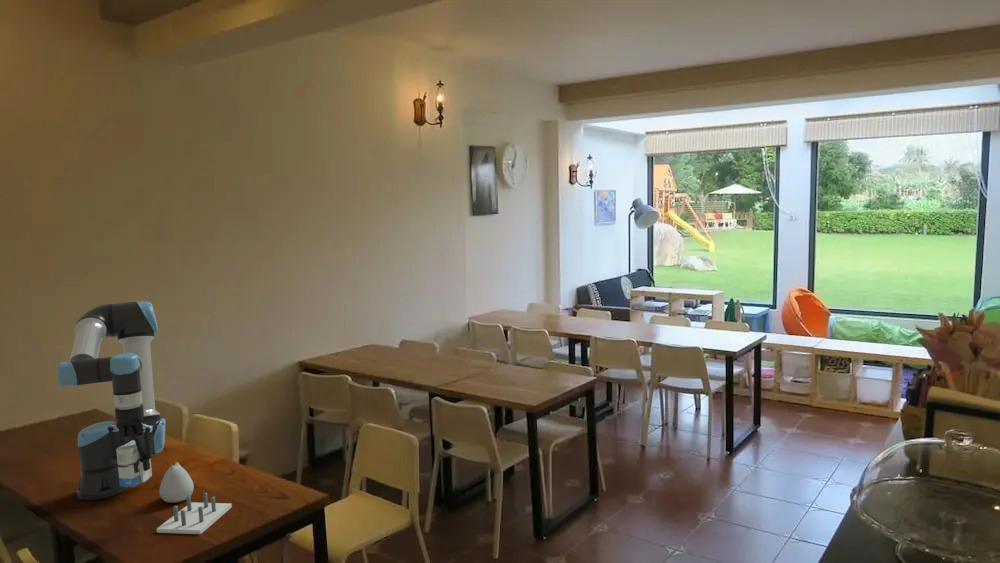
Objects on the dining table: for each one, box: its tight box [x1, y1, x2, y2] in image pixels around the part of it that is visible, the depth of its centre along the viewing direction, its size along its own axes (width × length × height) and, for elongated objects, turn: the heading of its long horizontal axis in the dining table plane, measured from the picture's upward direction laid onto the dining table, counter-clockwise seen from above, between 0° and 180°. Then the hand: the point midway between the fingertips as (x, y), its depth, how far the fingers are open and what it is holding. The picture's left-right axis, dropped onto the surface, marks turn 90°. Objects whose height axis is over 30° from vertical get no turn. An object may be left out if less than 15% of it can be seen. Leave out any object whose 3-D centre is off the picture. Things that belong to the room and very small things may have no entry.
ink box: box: [116, 440, 153, 488], centre depth 209 cm, size 8×5×12 cm, turn 169°
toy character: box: [158, 461, 195, 504], centre depth 229 cm, size 10×10×12 cm
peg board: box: [156, 492, 233, 535], centre depth 214 cm, size 14×18×6 cm
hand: (136, 480), depth 210 cm, fingers closed on ink box, 5 cm apart
